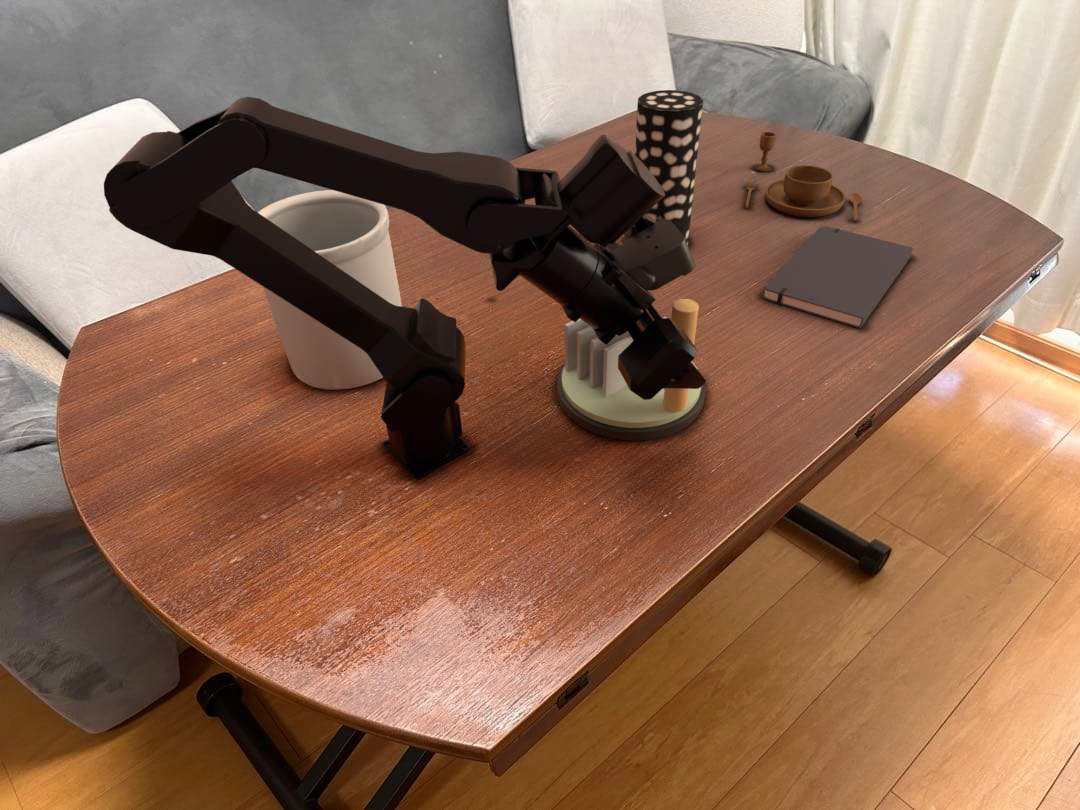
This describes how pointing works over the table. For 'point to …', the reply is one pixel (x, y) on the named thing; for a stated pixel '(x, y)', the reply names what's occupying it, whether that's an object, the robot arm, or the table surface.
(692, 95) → the white-spotted black cylinder
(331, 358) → the utensil holder
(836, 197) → the place setting
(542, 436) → the table surface
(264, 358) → the table surface
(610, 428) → the turntable base
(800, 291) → the notebook
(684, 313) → the dish rack
